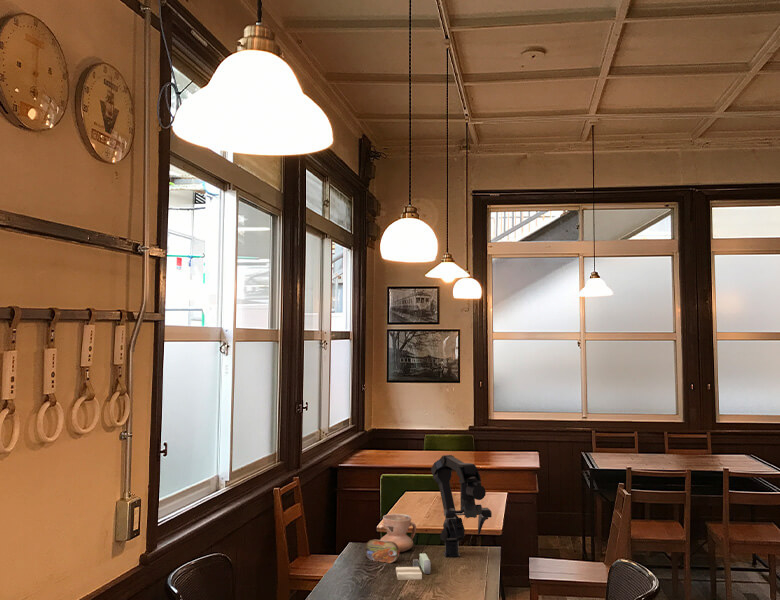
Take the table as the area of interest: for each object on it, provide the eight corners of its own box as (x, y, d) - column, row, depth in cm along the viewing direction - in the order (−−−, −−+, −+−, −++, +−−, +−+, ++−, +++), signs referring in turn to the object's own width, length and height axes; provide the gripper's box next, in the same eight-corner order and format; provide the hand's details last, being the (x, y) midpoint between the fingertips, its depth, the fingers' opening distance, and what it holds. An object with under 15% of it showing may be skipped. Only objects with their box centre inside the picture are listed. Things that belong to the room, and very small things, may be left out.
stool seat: (395, 572, 272) (395, 567, 273) (418, 571, 273) (418, 566, 273) (398, 579, 264) (398, 574, 264) (421, 579, 264) (421, 573, 265)
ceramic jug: (384, 556, 294) (385, 522, 295) (371, 547, 307) (372, 514, 308) (423, 552, 301) (424, 519, 302) (409, 543, 314) (409, 511, 315)
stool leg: (431, 573, 270) (431, 562, 270) (424, 573, 270) (424, 562, 270) (425, 563, 283) (425, 552, 283) (419, 563, 283) (419, 552, 283)
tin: (364, 559, 290) (364, 538, 290) (368, 557, 292) (368, 537, 293) (396, 564, 283) (397, 543, 283) (400, 562, 285) (400, 541, 286)
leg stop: (412, 566, 280) (412, 559, 280) (417, 566, 280) (417, 559, 280) (413, 568, 278) (413, 560, 278) (418, 568, 278) (418, 560, 278)
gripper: (448, 499, 276) (448, 540, 275) (494, 499, 278) (495, 539, 276) (443, 494, 287) (443, 533, 286) (488, 493, 289) (488, 532, 287)
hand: (467, 534), depth 284 cm, fingers open, 9 cm apart
